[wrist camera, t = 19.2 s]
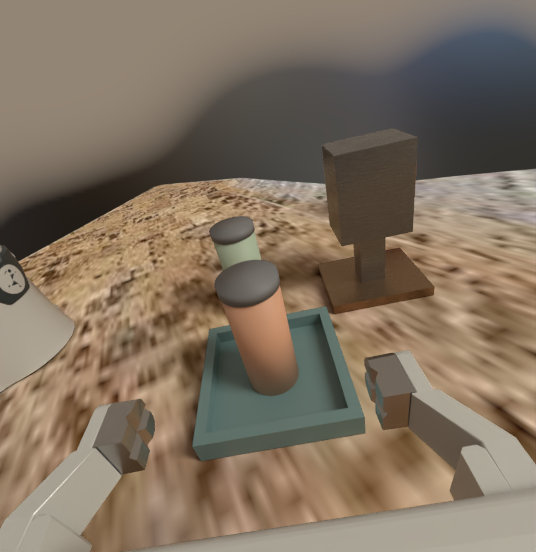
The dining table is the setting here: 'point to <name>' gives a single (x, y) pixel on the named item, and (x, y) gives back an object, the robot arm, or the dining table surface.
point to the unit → (371, 220)
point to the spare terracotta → (259, 324)
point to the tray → (281, 408)
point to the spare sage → (235, 241)
